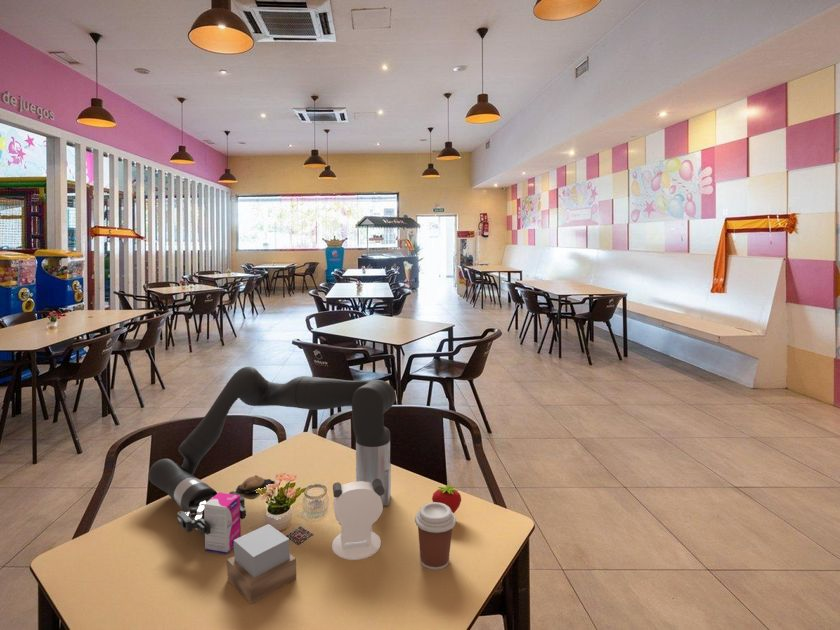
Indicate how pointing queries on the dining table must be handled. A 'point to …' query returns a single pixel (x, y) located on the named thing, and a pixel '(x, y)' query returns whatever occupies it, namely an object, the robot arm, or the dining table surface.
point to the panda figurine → (357, 518)
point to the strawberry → (447, 497)
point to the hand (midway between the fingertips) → (226, 522)
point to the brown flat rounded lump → (252, 486)
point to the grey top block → (261, 550)
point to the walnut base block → (260, 579)
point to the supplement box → (222, 522)
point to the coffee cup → (435, 534)
